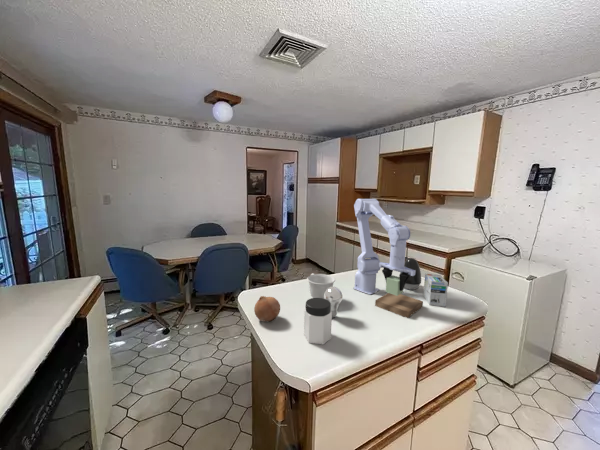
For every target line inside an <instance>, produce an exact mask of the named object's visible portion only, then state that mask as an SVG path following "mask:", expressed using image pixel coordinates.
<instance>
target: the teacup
mask: <svg viewBox="0 0 600 450" xmlns="http://www.w3.org/2000/svg"><path fill="white" fill-rule="evenodd" d="M306 280H307V282H308V286H309V293H310V296H311V298H323V299H324V293H325V291H326V289H327V288H329V287H334V283H335V282H336V278H335V277H334V276H332V275H330V274H329V275H328V274H325V273H311V274H310V275H309V276H307V278H306Z"/></svg>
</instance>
